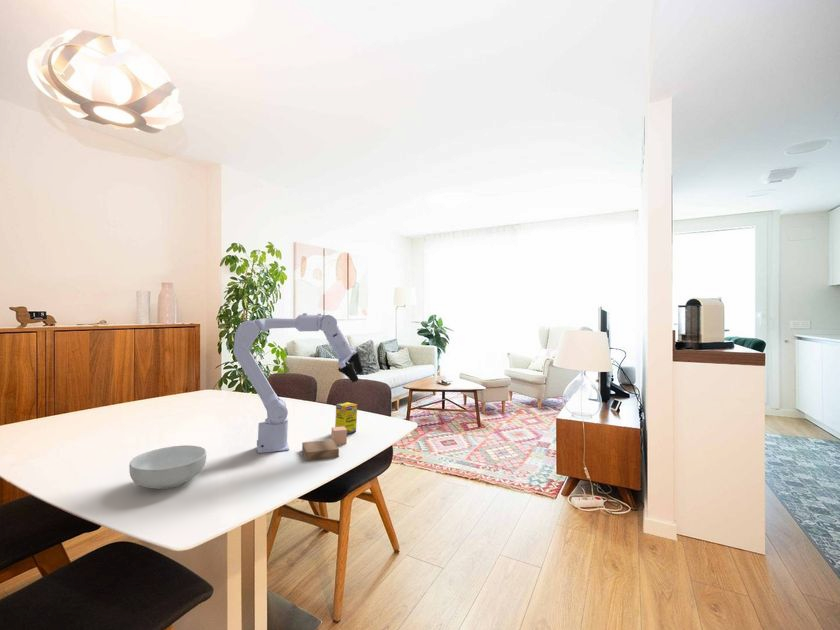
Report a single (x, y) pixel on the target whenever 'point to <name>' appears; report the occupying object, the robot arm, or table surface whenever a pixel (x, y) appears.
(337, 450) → the walnut base
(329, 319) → the robot arm
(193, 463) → the cereal bowl
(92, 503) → the table surface
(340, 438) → the terracotta block
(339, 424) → the supplement box
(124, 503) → the table surface
